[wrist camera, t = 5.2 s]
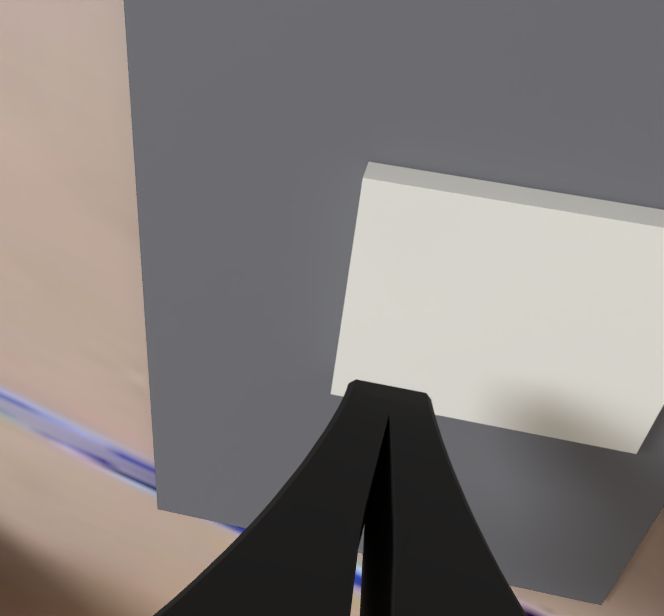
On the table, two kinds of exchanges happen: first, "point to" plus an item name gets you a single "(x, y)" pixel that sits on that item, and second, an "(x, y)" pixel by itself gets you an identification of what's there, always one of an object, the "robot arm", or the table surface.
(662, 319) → the tile
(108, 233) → the table surface
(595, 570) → the mat
